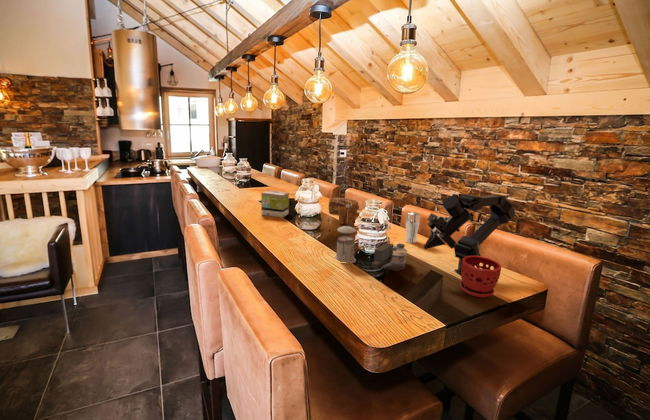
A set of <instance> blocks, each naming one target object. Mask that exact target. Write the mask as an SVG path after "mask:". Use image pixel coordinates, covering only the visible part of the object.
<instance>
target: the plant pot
mask: <svg viewBox="0 0 650 420" xmlns="http://www.w3.org/2000/svg"><path fill="white" fill-rule="evenodd" d="M471 262H472V264H470V263H471ZM480 264H482V265H480ZM473 266H475V267H473ZM491 267H492V268H493V269H491ZM501 271H502V265H501V264H500V263H499V262H498V261H497V260H494V259H492V258H489V257H485V256H466V257H464V258H463V259H462V264H461V275H460V277H461V282H459V287H460V289H461V290H462V291H463V292H464V293H466V294H468V295H470V296H472V297H475V298H476V297H477V298H489V297H491V296H493V295H494V294H495V289H494V288H495V287H496V286H497V283H498V282H499V280H500V275H501V273H502V272H501Z"/></svg>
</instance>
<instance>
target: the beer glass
mask: <svg viewBox="0 0 650 420" xmlns="http://www.w3.org/2000/svg"><path fill="white" fill-rule="evenodd" d="M420 220H421V214H420V213H419V212H415V211H408V212H406V217H405V231H406V232H405V235H406V236H405V237H404V238H405V239H404V241H405V242H406V243H408V244H416V243H417V242H418V239H417V238H418V237H417V236H418V231H419V228H420V224H421V223H420V222H421V221H420Z"/></svg>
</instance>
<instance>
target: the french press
mask: <svg viewBox="0 0 650 420" xmlns="http://www.w3.org/2000/svg"><path fill="white" fill-rule="evenodd" d="M346 207H347V208H350V205H346ZM347 220H348V211H347ZM337 232H338V233H341V234H345V235H342V236H339V237H337V241H336V256H334V258H335V259H336V260H338V261H340V262H346V263H351V264H354V263H356V261H357V259H356V258H355V249H356V247H355V246H356V242H355V238H354V237H352V236H348V235H349V234H353V233H356V232H357V230H356V229H355V228H353V226H350V225H343V226H340V227H338V228H337Z"/></svg>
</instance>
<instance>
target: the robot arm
mask: <svg viewBox="0 0 650 420" xmlns="http://www.w3.org/2000/svg"><path fill="white" fill-rule="evenodd" d="M441 206H442V207H443V208H444V210H445V211H446V212H447V213H448V214H449V216H448V217H447V216H445V217H444V216H441V215H436V214H434V213H432V212H431V213H430V214H429V215H428V216H429V217H428V218H427V219H426V220H427V221H428V222H427V224H426V225H427V226H428V227H429V228H430V229H429V230H430V234H429V235H430V236H429V237H428V238H427V240H426V241H425V244H424V245H423V248H424V250H428V249H433V248H436V247H440V246H445V245H447V246H448V247H449V248H450V249H451V250H452V249H453V250H454V255H455V256H454V257H455V258H457V259H459V260H458V264H457V265H458V266H457V268H455V269H454V272H456V273H457V274H458V275H460V276H461V264H462V259H463V258H464V257H466V256H481V254H480V246H481V245H482V244H483V243H484V242H485V241H486V239H488V237H489V236H490V235H492V234H493V232H495V230H497V228H498V227H499V226H500V225H505V224H508V223H509V222H510V221H511V220H513V218H514V217H515V215H516V211H515V209H514V207H513V205H512V204H511V203H510V202H509V201H508V200H507V199H506V196H504V195H501V194H496V193H493V194H487V195H478V196H477V195H473V194H467V193H463V194H462V195H461V196H459V194H456V193H452V195H450V196H448V197H446V198H444V199H443V201H442V205H441ZM483 207H489V210H490V211H489V212H490V214H489V215H490V216H489V218H487V219H486V220H485V222H483V223H482V224H481V226H479V227H478V228H477V229H476V231H474V232H473V233H472V234H471V235H470V236H468V235H462V236H461V238H460V239H459V240H457V242H456V241H455V240H454V238H453V237H452V235H453V234H454V233H456V232H458V233H459V232H461V230H460V229H461V227H463V226H464V225H465V224H466V223H467V222H468V221H470V222H472V223H473V222H474V219H475V218H474V216H475V215H474V214H473V213H472V212H477V211H480V210H481V209H482V208H483ZM469 211H472V212H469ZM481 257H482V256H481ZM470 264H472V262H471V263H470ZM473 267H476V266H473Z"/></svg>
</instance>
